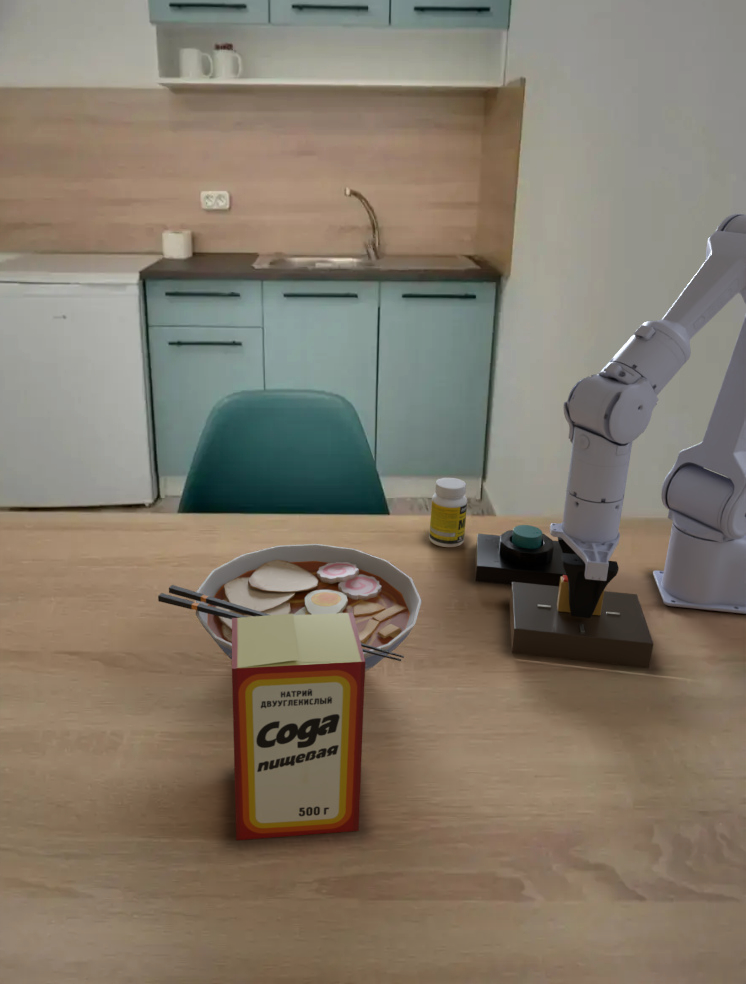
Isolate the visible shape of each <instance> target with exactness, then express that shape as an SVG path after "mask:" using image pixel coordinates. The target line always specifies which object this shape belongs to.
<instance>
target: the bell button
mask: <svg viewBox="0 0 746 984" xmlns="http://www.w3.org/2000/svg"><path fill="white" fill-rule="evenodd" d="M512 530H513V536H512V543H513V544H514V545H516V546H519V547H521V548H528V549H534V548H540V547H541V542H542V534H544V533H543V531H542V529H540V528H539V527H536V526H533V525H530V524H519V525H516V526H514V527H513V528H512Z"/></svg>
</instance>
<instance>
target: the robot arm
mask: <svg viewBox="0 0 746 984" xmlns="http://www.w3.org/2000/svg"><path fill="white" fill-rule="evenodd" d="M706 242H707V243H706V250H705V260H704V262H703V263H702V265H701V266H700V267H699V269H698V270H697V271H696V273H695V274H694V275H693V277H692V278H691V279H690V281H689V282H688V283H687V285H686V286H685V287H684V288H683V290H682V292H680V294H679V295H678V297H677V298H676V299H675V301H674V302H673V304H672V305H671V306H670V307H669V309H668V310H667V311H666V313H665V314H664V316H662V318H661V319H658V320H648V321H644V322H643V323H642V324H641V325H639V326H638V327H637V328H636V330H635V331H634V332H633V334H632V335H631V336H630V337H629V338H628V340H627V341H626V342H625V343H624V344H623V345H622V346H621V347H620V349H618V351H617V352H616V353H615V354H614V355H613V357H612V358H611V359H610V360H609V361H608V362H607V363H606V364H605V366H603V368H602V369H601V370H600V371H599V372H598V373H597V374H596V373H595V374H591V375H590V376H589V375H588V376H586V377H584V378H581V379H579V380H578V381H577V382H576V383H575V384H574V385H573V387H572V388H571V390H570V392H569V394H568V397H567V400H566V401H564V402H563V415H564V418H565V420H566V422H567V424H568V428H569V429H568V430H569V431H568V440H569V442H570V443H571V444H572V445H571V451H570V460H569V468H568V476H567V483H566V489H565V491H566V492H565V500H564V505H563V507H564V508H563V515H562V522H559V523H556V522H551V524H550V525H549V534H550V536H552V537H555V538H557V541H558V542H559V544H560V547H561V549H562V552H563V553H561V559H562V564H563V567H564V570H565V575H567V577H568V584H569V606H570V612H571V616H574V617H584V618H591V616H592V614H593V612H594V610H595V608H596V606H597V603H598V601H599V599H600V596H601V594H602V592H603V591H605V589H606V587H607V586H608V584H609V583H610V582H611V581H612V580H613V579H614V578H615V577H616V576H617V574H618V573H619V564H618V561H616V560H611V557H612V556H613V553H614V552H615V550H616V548H617V547H618V545H619V543H620V539H621V533H620V524H621V517H622V513H623V506H624V500H625V492H626V486H627V479H628V473H629V467H630V461H631V454H632V447H633V443H634V442H633V441H635V440H637V439H638V438H639V436H641V435H642V434H644V432H645V431H646V429H647V428H648V425H649V424H650V421H651V418H652V414H653V411H654V409H655V407H656V406H657V405H658V403H657V402H658V401H659V397H658V395H659V394H660V393H661V392H662V391H663V390H664V388H665V387H666V386H667V385H668V384H669V383H670V381H671V380H672V379H673V378H674V377H675V376H676V374H677V373H678V372H679V371H680V370H681V369H682V367H684V365H686V363H687V362H688V361H689V360H690V358H691V354H692V352H691V351H692V349H691V343H690V342H691V340H692V338H693V337H695V336H696V335H697V334H698V333H699V332H700V331H701V330H702V329H703V328H704V327H705V326H706V325H707V324H708V323H709V322H710V321H711V320H712V319H713V318H714V317H715V316H716V315H717V314H718V313H719V312H720V311H721V310H722V309H723V308H724V307H725V306H726V305H727V304H729V303H730V301H731V300H733V299H734V298H735V296H737V295H738V294H739V295H740V296H741V298H742V300H743V302H744V305H746V214H744V213H739V212H737V213H732V214H729V215H728V216H726V217H725V218H723V220H722V221H721V222H720V223H719V225H718V226H717V228H716V229H715V231H714V232H713V233H712V234H711V235H710V236H709V237H708V238H707V241H706ZM660 494H661V502H662V504H663V506H664V508H665V509H667V510H668V513H667V519H669V520H670V521H672V523H671V528H670V533H669V541H668V546H667V550H666V556H665V562H664V568H663V570H657V569H656V570H653V572H652V576H653V579H654V581H655V583H656V587H657V589H658V591H659V594H660V596H661V600H662V602H663V604H664V605H665V606H669V607H674V608H675V607H677V608H685V609H686V608H687V609H694V610H695V609H697V610H706V611H716V612H723V613H724V612H726V613H733V614H734V613H736V614H745V615H746V314H745V315H744V318H743V321H742V324H741V327H740V329H739V333H738V336H737V337H736V341H735V345H734V348H733V350H732V353H731V357H730V359H729V362H728V364H727V368H726V371H725V374H724V376H723V380H722V383H721V386H720V389H719V391H718V393H717V397H716V400H715V404H714V406H713V409H712V412H711V415H710V418H709V421H708V424H707V427H706V430H705V432H704V436H703V438H702V441H701V442H699V443H697V444H694V445H692V446H689V447H687V448H684V449H682V450H680V451H679V452H678V455H677V458H676V461H675V462H674V464H673V466H672V468H671V469H670V470H669V472H668V473H667V474H666V476H665V478H664V480H663V482H662V485H661V493H660Z"/></svg>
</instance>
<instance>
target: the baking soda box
mask: <svg viewBox="0 0 746 984" xmlns="http://www.w3.org/2000/svg"><path fill="white" fill-rule="evenodd" d="M231 677H232V678H231V684H232V685H231V687H232V688H231V690H232V691H231V692H232V724H233V726H232V728H233V763H234V765H233V766H234V769H233V770H234V801H235V802H234V803H235V805H234V807H235V839H236V841H244V840H245V841H246V840H259V839H270V838H271V839H272V838H283V837H296V836H297V837H299V836H308V835H321V834H335V833H346V832H347V833H348V832H359V828H360V827H359V826H360V805H361V804H360V803H361V802H360V801H361V782H362V781H361V780H362V779H361V778H362V755H363V753H362V752H363V732H364V708H365V706H364V705H365V683H366V682H365V681H366V672H365V658H364V654H363V650H362V646H361V642H360V638H359V634H358V630H357V626H356V623H355V619H354V615H353V613H333V614H312V615H293V614H281V615H267V616H254V617H241V618H232V660H231Z"/></svg>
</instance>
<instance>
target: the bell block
mask: <svg viewBox="0 0 746 984" xmlns="http://www.w3.org/2000/svg"><path fill="white" fill-rule="evenodd" d="M476 536H477V537H476V544H475V545H476V546H475V576H474V578H475V582H477V583H478V582H479V583H489V584H498V585H508V586H511V585H512V582H519V583H529V584H539V585H549V586H559V584H560V577H561V576H563V575H565V570H564V567H563V564H562V559H561V553H563V552H562V549H561V547H560V544H559V542H558V540H553V539H552V538H551V537H549V536H547V535H546V534H545V533H543V534H542V542H541V547H540V548H534V549H528V548H521V547H519V546H516V545H514V544H513V543H512V536H513V529H509V530H506V531H504V532H503V533H501V534H499V535H497V534H486V533H477V535H476Z"/></svg>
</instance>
